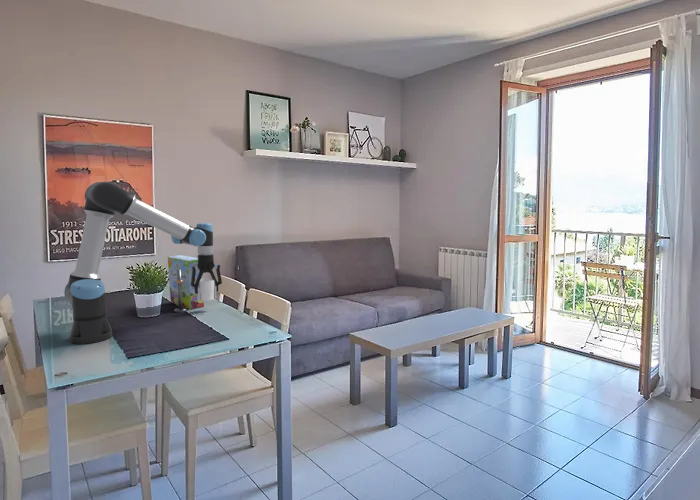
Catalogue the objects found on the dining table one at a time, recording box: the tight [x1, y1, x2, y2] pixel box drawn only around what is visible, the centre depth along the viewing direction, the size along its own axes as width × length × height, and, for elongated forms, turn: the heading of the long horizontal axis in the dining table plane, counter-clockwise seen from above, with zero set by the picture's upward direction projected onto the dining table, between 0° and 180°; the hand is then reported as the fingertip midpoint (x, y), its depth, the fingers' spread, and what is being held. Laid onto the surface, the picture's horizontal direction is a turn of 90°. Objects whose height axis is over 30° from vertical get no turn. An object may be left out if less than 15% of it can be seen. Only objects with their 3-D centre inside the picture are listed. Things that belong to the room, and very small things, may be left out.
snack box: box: [167, 254, 205, 310], centre depth 238 cm, size 22×9×26 cm, turn 49°
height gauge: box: [174, 270, 188, 313], centre depth 226 cm, size 6×6×21 cm
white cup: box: [198, 278, 215, 302], centre depth 227 cm, size 8×8×10 cm
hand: (206, 298), depth 228 cm, fingers closed on white cup, 8 cm apart
